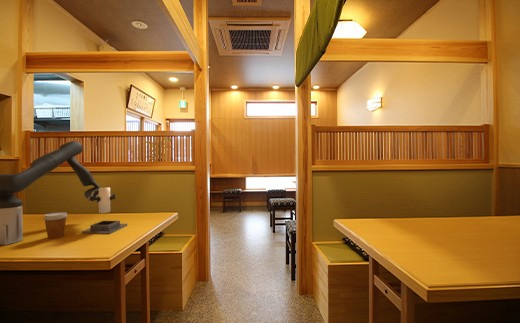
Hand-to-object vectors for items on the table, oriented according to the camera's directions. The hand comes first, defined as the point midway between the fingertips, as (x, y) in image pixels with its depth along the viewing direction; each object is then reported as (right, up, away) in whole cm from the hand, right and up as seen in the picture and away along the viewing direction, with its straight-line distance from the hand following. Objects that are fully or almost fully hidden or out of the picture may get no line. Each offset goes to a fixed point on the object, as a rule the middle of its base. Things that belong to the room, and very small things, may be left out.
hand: (105, 198), depth 137 cm
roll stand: (-1, -18, +1) cm, 18 cm away
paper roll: (-2, -8, +2) cm, 8 cm away
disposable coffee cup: (-18, -18, -13) cm, 28 cm away
